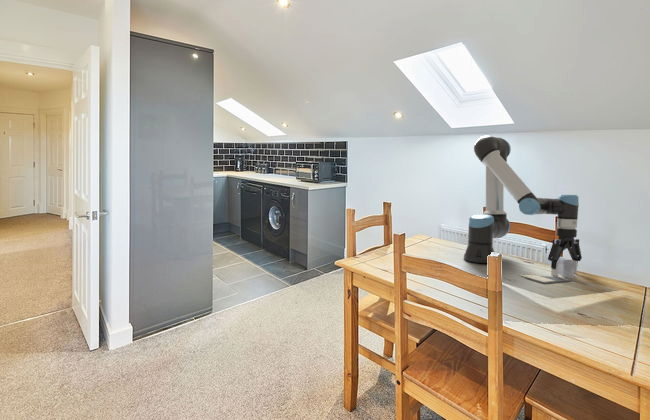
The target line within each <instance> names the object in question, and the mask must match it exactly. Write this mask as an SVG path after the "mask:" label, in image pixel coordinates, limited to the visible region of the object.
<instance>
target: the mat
mask: <svg viewBox="0 0 650 420" xmlns="http://www.w3.org/2000/svg"><path fill="white" fill-rule="evenodd" d="M519 277H522V278H524V279H525V280H529V281H532V282H536V283H539V284H543V285H551V284H557V283H559V284H560V283H568V282H569V283H570V282H572V281H573V280H572V279H570V278H569V279H568V278H565V277H562V276H558V277H557V276H553V275H550V276H549V275H547V276H546V275H545V276H544V275H535V274H519Z"/></svg>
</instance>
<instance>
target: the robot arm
mask: <svg viewBox="0 0 650 420" xmlns="http://www.w3.org/2000/svg"><path fill="white" fill-rule="evenodd" d="M511 151H512V149H511V144H510V143H509V141H507V140H506V139H504V138H502V137H495V136H491V135H484V136H480V138H478V139H477V140H476V141H475V142H474V146H473V152H474V154H475V156H476V157H477V158H478V160H479V161H480V163H482V165H484V166H485V210H484V211H483V212H482V214H474V215H471V216H470V217H469V219H468V220H469V221H468V234H467V235H468V239H467V247H466V249H465V252H464V254H463V259H464V260H465V261H468V262H471V263H481V264H488V263H487V256H488V255H490V254H491V252H494V253H495V250H494V246H493V243H494V239H500V238H503V237H505V236H507V235H508V233H509V232H510V230H511V222H510V221H509V219H508V218H507V216H508V215H507V214H508V213H507V212H506V211H504V210H505V209H504V188H505V189H506V190H507V192H508V193H509V194H510V195H511V196H512V198H513V199H514V200H515V202H516V203H517V204H518V209H519V212H520V213H522V214H524V215H529V216H534V215H535V216H536V215H557V222H556V227H557V229H556V236H557V237H558V238H557V239H555V238H553V239H552V244H551V248H550V252H549V254H548V257H547V260H548V261H549V262H551V263H550V264H551V265H550V268H551V275H550V276H552V277H559V274H558V269H559V262H557V261H558V259H559V258H560V257H562V254H563V252H564V251H566V250H567V251H568V253H569V256H570V259H572V260H574V275H577V274H578V265H579V264H578V263H579V262H581V260H582V258H583V256H582V251H581V247H580V239H579V238H578V239H577V238H576V237H577V236H578V235H577V234H578V230H577V228H578V217H579V216H578V215H579V206H580V205H579V204H580V203H579V196H578V195H577V194H559V195H558V197H557V198H546V197H545V198H543V197H536V195H535V194H534V193H533V191H532V190H531V189H530V188H529V187H528V186H527V185H526V183H525V182H524V181H523V180H522V179H521V178H520V176H519V175H518V174H517V173H516V172H515V171H514V170H513V168H512V167H511V166H510V165H509V164H508V161H507V160H508V157H509V156H510V154H511Z"/></svg>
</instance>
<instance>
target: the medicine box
mask: <svg viewBox="0 0 650 420" xmlns="http://www.w3.org/2000/svg"><path fill="white" fill-rule="evenodd" d="M557 262H559V269H558V275H560V277H562V278H566V279H568V278H569V279H574V278H575V274H574V260H572V258H571V257H570V258H569V257H567V256H566V257H565V256H560V258H559V259H558V261H557Z"/></svg>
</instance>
